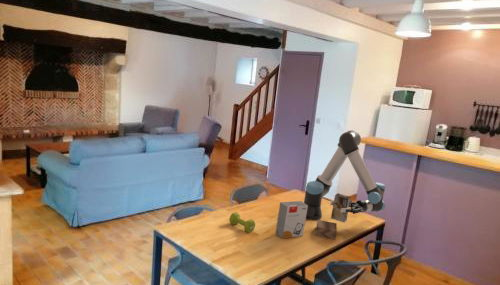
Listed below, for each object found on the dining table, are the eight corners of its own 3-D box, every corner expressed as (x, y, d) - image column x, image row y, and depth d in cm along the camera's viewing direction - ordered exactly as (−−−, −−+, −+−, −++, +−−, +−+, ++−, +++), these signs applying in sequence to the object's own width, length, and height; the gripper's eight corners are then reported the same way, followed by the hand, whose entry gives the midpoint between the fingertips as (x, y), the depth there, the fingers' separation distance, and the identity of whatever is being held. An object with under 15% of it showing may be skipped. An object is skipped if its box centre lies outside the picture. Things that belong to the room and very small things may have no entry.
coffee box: (347, 220, 231) (351, 196, 228) (344, 223, 226) (348, 199, 222) (333, 215, 236) (337, 192, 232) (330, 218, 230) (334, 195, 227)
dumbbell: (255, 231, 213) (257, 219, 212) (246, 234, 207) (248, 223, 206) (236, 221, 224) (237, 210, 223) (227, 224, 218) (228, 213, 217)
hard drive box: (281, 239, 207) (286, 206, 203) (275, 233, 213) (279, 202, 209) (303, 236, 214) (308, 205, 210) (296, 230, 221) (300, 200, 217)
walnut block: (315, 236, 216) (316, 226, 215) (316, 228, 228) (317, 219, 227) (334, 240, 214) (336, 230, 213) (334, 232, 226) (336, 223, 224)
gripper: (374, 218, 226) (345, 219, 218) (351, 204, 247) (325, 205, 239) (376, 207, 224) (347, 208, 216) (353, 194, 245) (326, 194, 237)
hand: (335, 206), depth 227 cm, fingers closed on coffee box, 11 cm apart
